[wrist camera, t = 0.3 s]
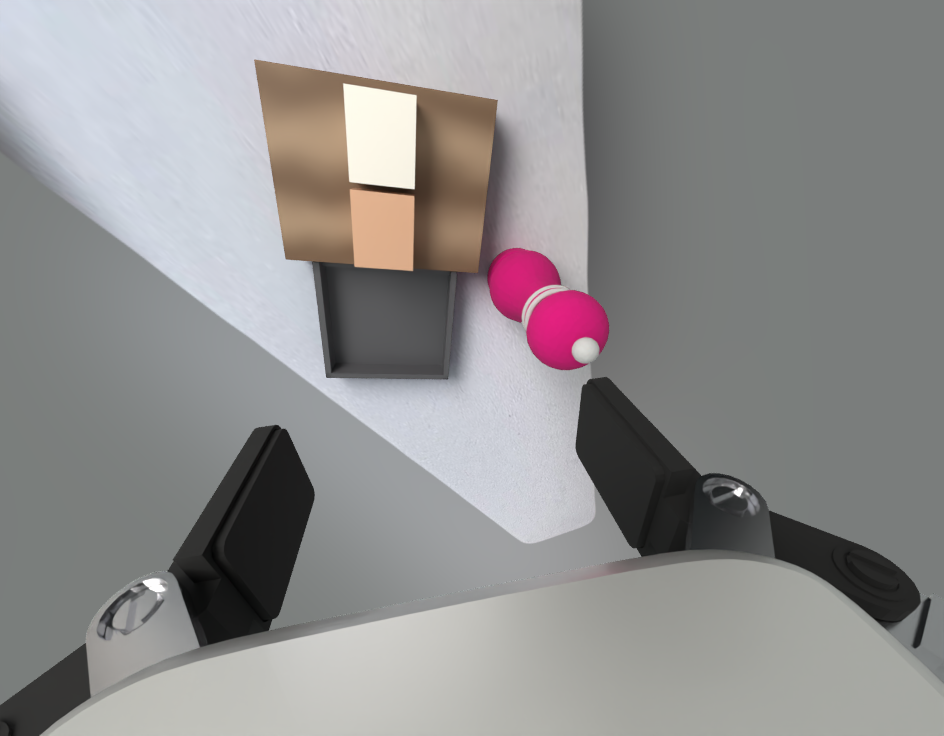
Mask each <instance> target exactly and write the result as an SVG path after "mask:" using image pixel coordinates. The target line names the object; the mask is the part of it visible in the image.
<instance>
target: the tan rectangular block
mask: <svg viewBox="0 0 944 736" xmlns="http://www.w3.org/2000/svg"><path fill="white" fill-rule="evenodd" d="M350 201H351V217H352V234H353V250H354V266H355V267H364V268H378V269H392V270H407V271H413V242H414V194H407V193H398V192H389V191H380V190H371V189H362V188H353V189H350Z"/></svg>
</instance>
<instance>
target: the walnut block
mask: <svg viewBox="0 0 944 736" xmlns="http://www.w3.org/2000/svg"><path fill="white" fill-rule="evenodd" d="M254 61H255V67H256V74H257V80H258V86H259V93H260V99H261V105H262V112H263V118H264V125H265V131H266V137H267V144H268V150H269V156H270V163H271V169H272V175H273V182H274V188H275V194H276V201H277V207H278V213H279V220H280V226H281V232H282V239H283V245H284V251H285V258H286V259H288V260H302V261H316V262H330V263H344V264H354V250H353V234H352V217H351V201H350V189H353V188H362V189H371V190H380V191H389V192H398V193H407V194H414V242H413V268H414V269H428V270H442V271H456V272H470V273H478V268H479V259H480V250H481V242H482V233H483V224H484V215H485V207H486V198H487V189H488V180H489V171H490V163H491V154H492V145H493V136H494V128H495V119H496V110H497V101H498V100H494V99H488V98H482V97H476V96H470V95H464V94H458V93H452V92H446V91H440V90H434V89H428V88H422V87H416V86H410V85H404V84H398V83H392V82H386V81H380V80H374V79H368V78H362V77H356V76H350V75H344V74H338V73H332V72H326V71H320V70H314V69H308V68H302V67H296V66H290V65H284V64H278V63H272V62H266V61H260V60H254ZM343 83H344V84H350V85H356V86H362V87H368V88H375V89H381V90H387V91H393V92H399V93H405V94H412V95H417V99H416V147H415V189H407V188H398V187H389V186H380V185H371V184H362V183H353V182H349V169H348V153H347V137H346V120H345V104H344V88H343Z"/></svg>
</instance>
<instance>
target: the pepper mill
mask: <svg viewBox="0 0 944 736" xmlns="http://www.w3.org/2000/svg"><path fill="white" fill-rule="evenodd" d="M487 280H488V286H489V288H490V295H491V299H492V301H493V303H494V305H495V307H496V308H497V309H498V310H499V311H500V312H501V313H502V314H503V315H504V316H506V317H507V318H509V319H512V320H514V321H518V322H522V324H523V327H524V329H525V331H526V333H527V341H528V344H529V347H530V349H531V351H532V352H533V354H534V355H535V356H536V357H537V358H538V359H539V360H540V361H541V362H542V363H544V364H546V365H547V366H549V367H552V368H555V369H559V370H573V369H577V368H581V367H583V366H585V365H587V364H589V363H591V362H593V361H594V360H595V359H596V358H597V357H598V355H599V354H600V353H601V352H602V350H603V348H604V346H605V344H606V342H607V339H608V334H609V322H608V318H607V315H606V313H605V311H604V309H603V308H602V306H601V305H600V304H599V303H598V302H597V301H596V300H595V299H594V298H593V297H591V296H589V295H587V294H585V293H583V292H579V291H575V290H570V289H569V288H567V287H565V286H561V281H560V277H559V274H558V271H557V269H556V267H555V266H554V264H553V263H552V262H551V261H550V260H549V259H548V258H547V257H546V256H544V255H542V254H541V253H538V252H535V251H528V250H525V249H521V248H512V249H508V250H506V251H504V252H502V253H500V254H499V255H498V256H497V257H496V258H495V259H494V260H493V262H492V263H491V265H490V267H489V270H488V277H487Z"/></svg>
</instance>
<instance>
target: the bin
mask: <svg viewBox="0 0 944 736" xmlns="http://www.w3.org/2000/svg"><path fill="white" fill-rule="evenodd" d="M312 264H313V272H314V281H315V289H316V297H317V305H318V314H319V322H320V330H321V339H322V347H323V355H324V363H325V372H326V378H385V379H448V374H449V362H450V350H451V338H452V326H453V314H454V302H455V291H456V279H457V272H456V271H442V270H428V269H414V268H413V271H407V270H392V269H378V268H364V267H355V266H354V264H344V263H330V262H316V261H313V262H312Z"/></svg>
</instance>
